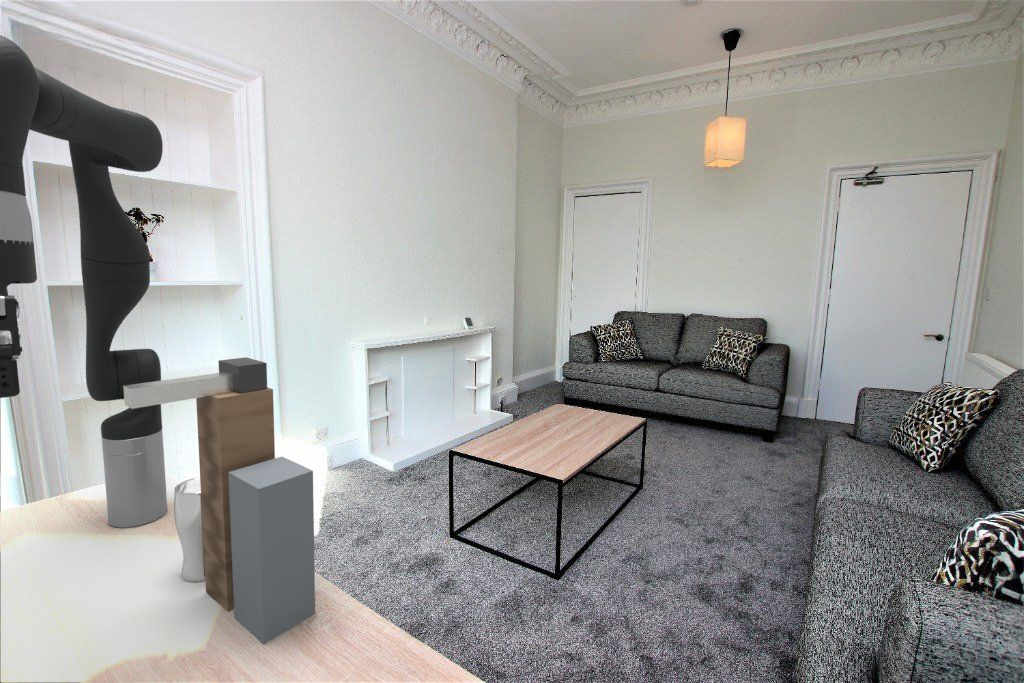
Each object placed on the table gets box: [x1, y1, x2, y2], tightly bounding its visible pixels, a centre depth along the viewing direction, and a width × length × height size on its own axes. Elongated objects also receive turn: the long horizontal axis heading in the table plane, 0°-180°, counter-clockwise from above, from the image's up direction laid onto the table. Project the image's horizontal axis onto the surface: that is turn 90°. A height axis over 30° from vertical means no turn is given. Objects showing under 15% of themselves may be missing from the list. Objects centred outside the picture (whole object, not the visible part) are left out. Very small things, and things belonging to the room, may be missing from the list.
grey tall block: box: [228, 456, 316, 645], centre depth 68 cm, size 8×8×22 cm
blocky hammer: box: [123, 356, 268, 409], centre depth 66 cm, size 6×16×4 cm, turn 145°
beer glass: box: [173, 476, 205, 583], centre depth 78 cm, size 7×7×15 cm
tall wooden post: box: [195, 386, 276, 613], centre depth 73 cm, size 7×8×32 cm
